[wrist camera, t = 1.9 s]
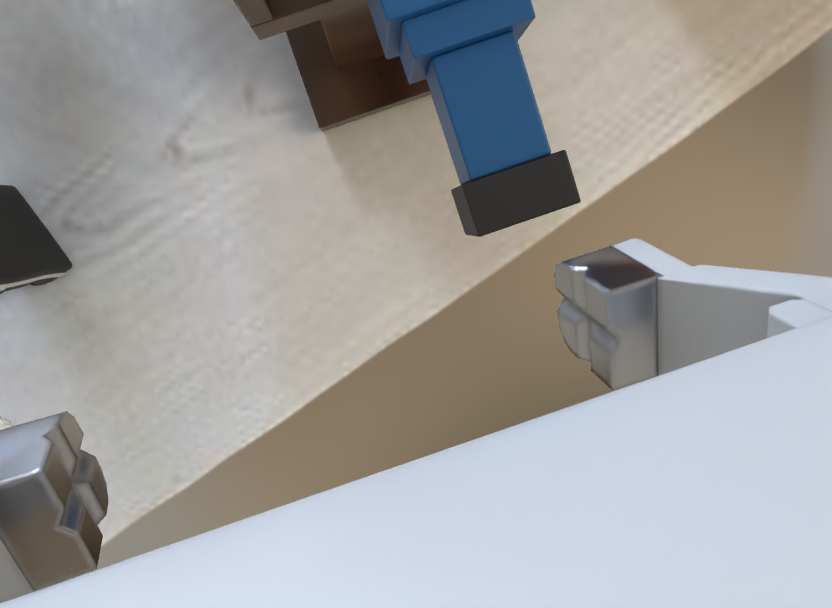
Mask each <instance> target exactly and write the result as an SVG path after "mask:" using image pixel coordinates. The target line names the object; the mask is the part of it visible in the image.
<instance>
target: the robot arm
mask: <svg viewBox="0 0 832 608" xmlns="http://www.w3.org/2000/svg"><path fill="white" fill-rule="evenodd" d="M554 277H555V288H556V289H557V290H558V291H559V292H560V293H561V294H562V295H563V296H564V299H563V301H562V303H561V305H560V307H559V308H558V311H557V312H558V320H559V328H560V330H561V333H562V336H563V339H564V341H565V343H566V344H567V346H568V348H569V349H570V351H571V352H572V353H573V354H574V355H575V356H576V357H577V358H579V359H583V360H587V361H591V371H592V372H593V373H594V374H595V375H597V376H598V377H599V378H600V379H601V380H602V381H603V382H604V383H605V384H606V385H607V386H608V387H610V388H611V389H612V390H615V389H619V388H621V387H625V386H628V385H631V384H634V383H636V384H634V385H631V386H628V387H625V388H622V389H619V390H616V391H613V392H611V393H608V394H605V395H602V396H599V397H596V398H593V399H590V400H588V401H584V402H582V403H579V404H576V405H573V406H570V407H567V408H564V409H561V410H558V411H556V412H553V413H550V414H547V415H544V416H541V417H539V418H535V419H533V420H530V421H527V422H524V423H521V424H518V425H515V426H513V427H509V428H506V429H504V430H501V431H498V432H495V433H492V434H489V435H486V436H484V437H480V438H478V439H475V440H472V441H469V442H466V443H463V444H460V445H458V446H454V447H452V448H449V449H446V450H443V451H440V452H437V453H434V454H431V455H429V456H425V457H423V458H420V459H417V460H414V461H411V462H408V463H405V464H402V465H400V466H397V467H394V468H391V469H388V470H385V471H382V472H379V473H376V474H373V475H370V476H368V477H365V478H362V479H359V480H356V481H353V482H350V483H347V484H344V485H342V486H339V487H336V488H333V489H330V490H327V491H324V492H321V493H318V494H315V495H313V496H310V497H307V498H304V499H301V500H298V501H295V502H292V503H290V504H287V505H284V506H281V507H278V508H275V509H272V510H269V511H266V512H263V513H261V514H258V515H255V516H252V517H249V518H246V519H243V520H240V521H237V522H234V523H232V524H229V525H226V526H223V527H220V528H217V529H214V530H211V531H208V532H205V533H203V534H200V535H197V536H194V537H191V538H188V539H185V540H183V541H179V542H177V543H174V544H171V545H168V546H165V547H162V548H159V549H156V550H153V551H150V552H148V553H145V554H142V555H139V556H136V557H133V558H130V559H127V560H124V561H122V562H119V563H116V564H113V565H110V566H107V567H104V568H101V569H99V570H95V571H93V572H90V573H87V574H84V575H81V574H83V573H86V572H89V571H92V570H94V569H97V564H98V559H99V553H100V548H101V542H102V537H103V535H102V533H101V532H100V530H99V528H98V526H97V525H98V524H99V523H100V521H101V520H102V519H103V518H104V517H105V516H106V514H107V507H108V495H107V486H106V481H105V478H104V475H103V472H102V469H101V467H100V465H99V463H98V461H97V459H96V457H95V456H93V455H91V454H89V453H87V452H85V451H83V450H81V449H80V446H81V442H82V438H83V432H82V430H81V428H80V427H79V425H78V423H77V421H76V419H75V418H74V416H72V415H71V414H70V413H68V412H67V411H66V412H62V413H59V414H55V415H52V416H48V417H45V418H41V419H38V420H34V421H30V422H27V423H23V424H20V425H16V426H13V427H9V428H6V429H2V430H0V608H832V277H825V276H815V275H805V274H793V273H784V272H772V271H762V270H752V269H741V268H731V267H721V266H709V265H698V266H695V267H692V266H690V265H688V264H686V263H684V262H682V261H680V260H678V259H677V258H675V257H673V256H671V255H669V254H667V253H665V252H663V251H661V250H659V249H657V248H656V247H654V246H652V245H650V244H648V243H646V242H644V241H642V240H640V239H631V240H628V241H625V242H622V243H619V244H616V245H614V246H609V247H606V248H603V249H599V250H597V251H593V252H591V253H587V254H584V255H581V256H578V257H575V258H572V259H569V260H566V261H563V262H561V263H559V264H557V265H556V268H555V274H554ZM653 377H654V378H653ZM650 378H651V379H650ZM647 379H648V380H647ZM644 380H645V381H644ZM641 381H642V382H641ZM638 382H639V383H638ZM78 575H81V576H78ZM75 576H78V577H75ZM73 577H75V578H73ZM70 578H72V579H70ZM67 579H69V580H67ZM65 580H67V581H65ZM62 581H64V582H62ZM59 582H61V583H59ZM57 583H58V584H57ZM54 584H55V585H54ZM51 585H52V586H51Z"/></svg>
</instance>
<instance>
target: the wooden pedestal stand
mask: <svg viewBox="0 0 832 608" xmlns="http://www.w3.org/2000/svg"><path fill="white" fill-rule="evenodd" d="M233 1H234V2H235V4H236V5H237V7H238V8H239V10H240V11H241V13H242V14H243V16H244V17H245V19H246V20H247V22H248V23H249V24H250V26H251V28H252V29H253V31H254V32H255V34H256V35H257V37H258V38H259V39H260V40H261V39H264V38H267V37H270V36H273V35H276V34H279V33H282V32H285V31H286V33H287V36H288V39H289V42H290V45H291V48H292V51H293V53H294V56H295V59H296V62H297V65H298V68H299V71H300V74H301V76H302V79H303V82H304V85H305V88H306V91H307V94H308V96H309V99H310V102H311V105H312V108H313V111H314V114H315V117H316V119H317V122H318V125H319V128H320V129H321V131H324V130H327V129H330V128H333V127H336V126H339V125H342V124H345V123H348V122H351V121H354V120H357V119H360V118H363V117H366V116H368V115H371V114H374V113H377V112H380V111H383V110H386V109H389V108H392V107H395V106H398V105H401V104H404V103H407V102H410V101H413V100H415V99H418V98H421V97H424V96H427V95H430V94H431V92H430V89H429V86H428V83H427V80H426V79H424V80H421V81H418V82H416V83H413V84H409V83H408V80H407V77H406V74H405V71H404V68H403V65H402V62H401V59H400V56H397V57H394V58H391V59H386V57H385V54H384V51H383V48H382V45H381V42H380V39H379V36H378V33H377V30H376V27H375V24H374V21H373V18H372V15H371V12H370V9H369V6H368V3H367V0H233Z"/></svg>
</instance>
